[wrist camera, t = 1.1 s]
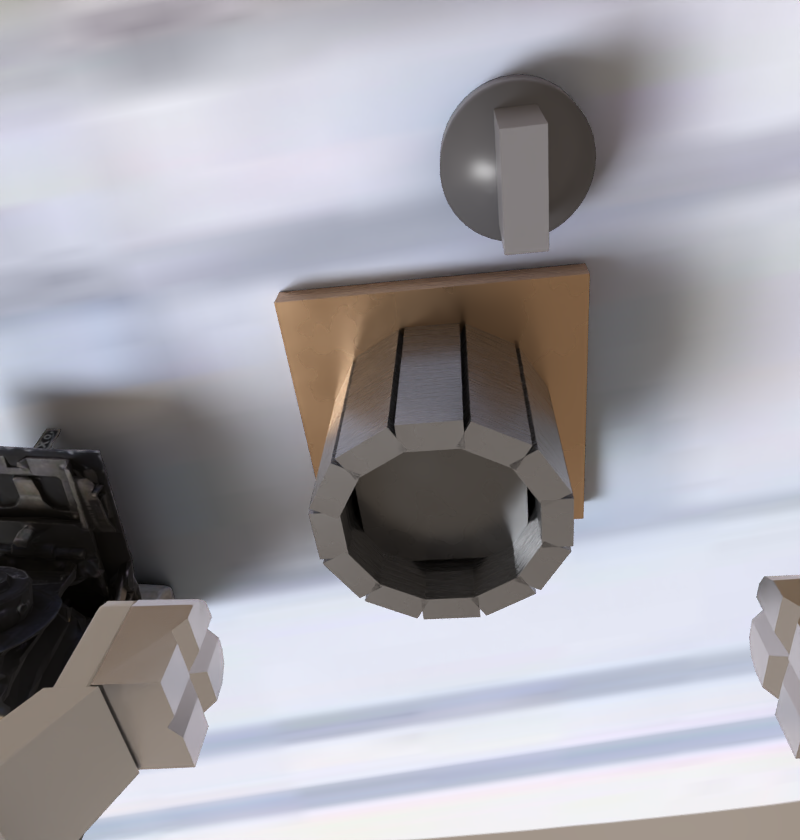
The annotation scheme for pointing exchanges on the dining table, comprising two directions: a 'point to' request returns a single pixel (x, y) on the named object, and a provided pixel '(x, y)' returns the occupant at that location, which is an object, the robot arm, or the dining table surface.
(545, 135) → the rotary knob
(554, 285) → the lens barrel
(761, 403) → the dining table surface
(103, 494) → the vintage camera
